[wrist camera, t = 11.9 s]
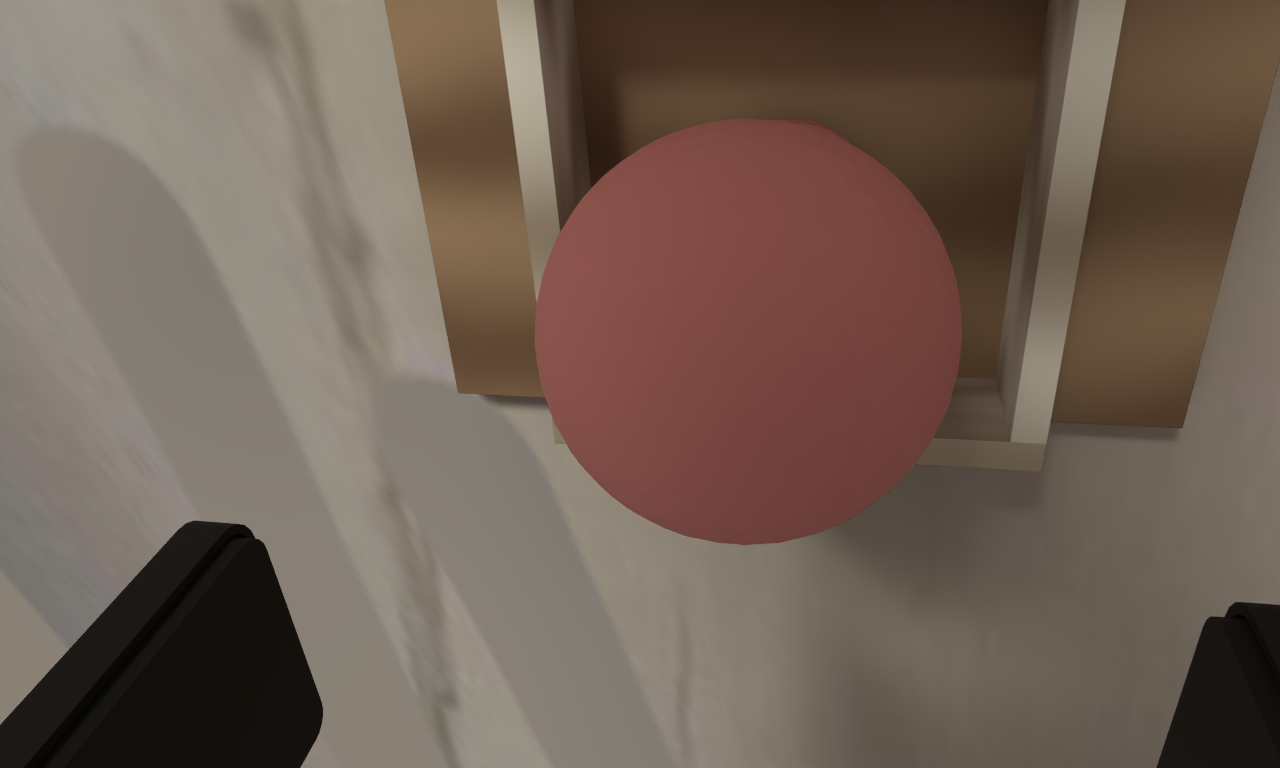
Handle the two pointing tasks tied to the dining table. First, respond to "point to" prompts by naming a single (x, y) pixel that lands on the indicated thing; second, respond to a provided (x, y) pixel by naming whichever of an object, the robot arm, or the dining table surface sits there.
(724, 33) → the bulb holder
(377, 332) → the dining table surface
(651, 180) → the light bulb
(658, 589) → the dining table surface
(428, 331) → the dining table surface
